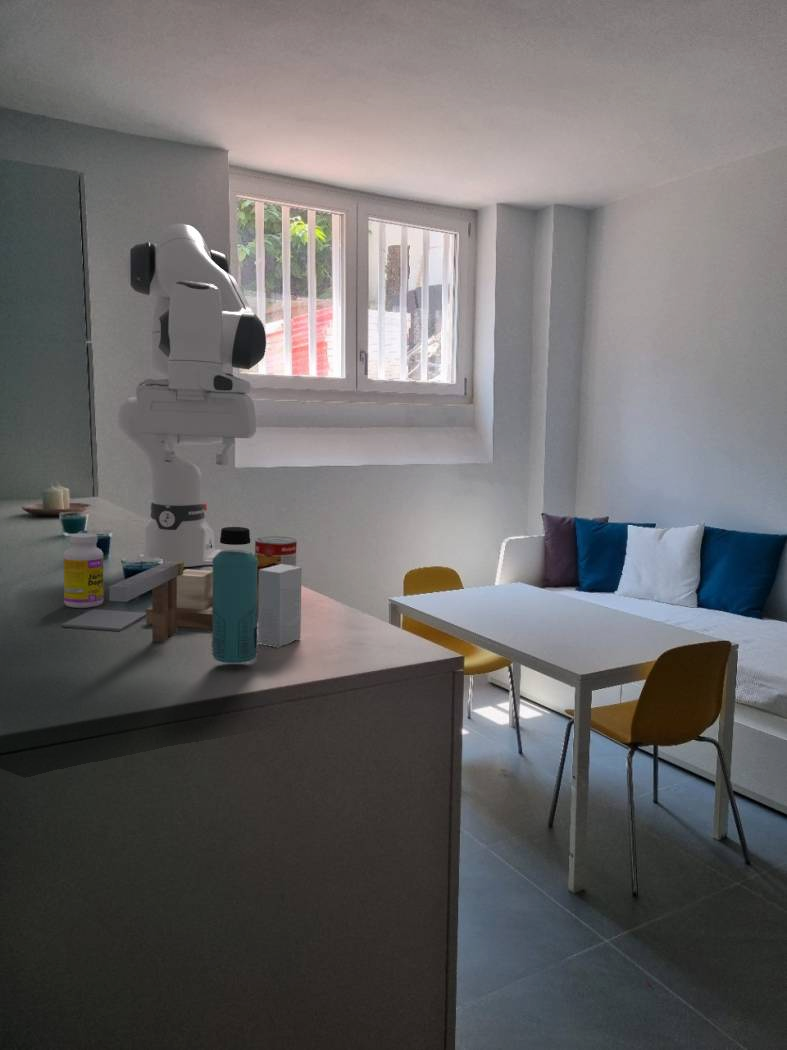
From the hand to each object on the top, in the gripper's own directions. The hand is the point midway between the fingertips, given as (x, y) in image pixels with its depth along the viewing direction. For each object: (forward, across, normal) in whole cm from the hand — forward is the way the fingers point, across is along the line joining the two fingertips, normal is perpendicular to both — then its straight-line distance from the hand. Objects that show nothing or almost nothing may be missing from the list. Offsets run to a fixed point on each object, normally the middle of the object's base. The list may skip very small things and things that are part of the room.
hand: (195, 463), depth 126 cm
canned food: (+27, +10, +16) cm, 33 cm away
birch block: (+27, 0, 0) cm, 27 cm away
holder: (+27, 0, -5) cm, 27 cm away
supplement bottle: (+27, -22, +3) cm, 35 cm away
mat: (+27, -13, -6) cm, 31 cm away
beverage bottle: (+27, +15, -23) cm, 39 cm away
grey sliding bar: (+18, 0, -18) cm, 25 cm away
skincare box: (+27, +18, -10) cm, 34 cm away
